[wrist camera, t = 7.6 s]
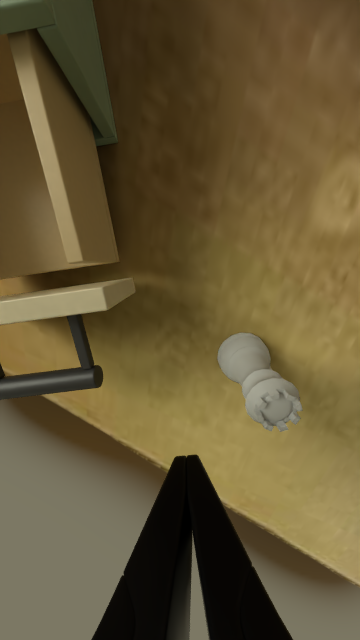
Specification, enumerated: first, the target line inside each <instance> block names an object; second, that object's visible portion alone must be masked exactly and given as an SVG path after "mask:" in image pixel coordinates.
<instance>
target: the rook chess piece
mask: <svg viewBox="0 0 360 640" xmlns="http://www.w3.org/2000/svg"><path fill="white" fill-rule="evenodd" d="M217 359H218V362H219V365H220V368H221V369H222V371H223V373H224V374H225V375H226V376H227V377H228V378H229V379H230V380H232V381H235V382H237V383H240V385H241V386H242V392H243V395H244V398H245V399H246V403H245V406H246V410H247V413H248V415H249V416H250V417H251V418H252V419H253V420H254V421H257V422H259V423H261V424H262V425H263V427H264V428H265V429H267V430H270V431H272V429H273V426H277V427H278V429H279V431H280V432H281V431H285V430H288V428H287V426H286V424H285V423H286V422H288V421H289V420H291V421H292V422H293V423H294V424H295V425H296V424H297V422H298V421H299V420H300V419H301V418H300V417H299V415H298V414H297V413H296V412H297V411H303V410H302V406H301V403H300V402H299V401H300V397H299V392H298V390H297V388H296V387H295V386H294V385H293V384H292V383H291V382H289V381H286V380H284V379H283V378H282V377H281V376H280V375H279V374H278V373H277V372H275V371H273V370H272V369H271V367H270V361H271V358H270V354H269V350H268V348H267V347H266V346H265V344H264V343H263V342H262V340H261V339H260V338H259V337H257V336H255V335H253V334H251V333H238V334H235V335H232V336H230V337H229V338H227V339H226V340H225V341H224V342H223V343H222V345H221V346H220V348H219V350H218V358H217Z"/></svg>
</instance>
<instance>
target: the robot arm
mask: <svg viewBox="0 0 360 640" xmlns="http://www.w3.org/2000/svg"><path fill="white" fill-rule="evenodd" d="M192 531H193V538H194V545H195V551H196V558H197V564H198V570H199V577H200V584H201V590H202V596H203V603H204V610H205V616H206V623H207V630H208V636H209V640H293V639H292V637H291V635H290V633H289V632H288V630H287V628H286V627H285V625H284V623H283V621H282V620H281V618H280V616H279V615H278V613H277V611H276V609H275V607H274V605H273V603H272V601H271V599H270V598H269V595H268V594H267V592H266V590H265V588H264V586H263V584H262V582H261V580H260V578H259V576H258V574H257V572H256V570H255V568H254V567H253V566H252V562H251V560H250V558H249V556H248V555H247V552H246V551H245V548H244V547H243V544H242V542H241V540H240V538H239V537H238V534H237V532H236V530H235V529H234V527H233V524H232V522H231V520H230V519H229V517H228V514H227V513H226V510H225V508H224V507H223V504H222V502H221V500H220V498H219V496H218V494H217V492H216V490H215V488H214V486H213V484H212V482H211V480H210V478H209V476H208V474H207V472H206V470H205V468H204V466H203V464H202V462H201V460H200V458H199V456H198V455H188V456H187V458H186V456H176V457H175V458H174V460H173V462H172V465H171V467H170V469H169V471H168V474H167V476H166V478H165V480H164V482H163V485H162V487H161V489H160V491H159V494H158V496H157V498H156V500H155V503H154V505H153V507H152V509H151V512H150V514H149V516H148V518H147V521H146V523H145V525H144V527H143V530H142V532H141V534H140V537H139V539H138V541H137V543H136V545H135V547H134V550H133V552H132V554H131V557H130V559H129V561H128V563H127V566H126V568H125V570H124V576H122V577H121V578H120V581H119V583H118V585H117V588H116V590H115V592H114V594H113V597H112V598H111V601H110V603H109V605H108V607H107V609H106V611H105V613H104V616H103V618H102V620H101V622H100V624H99V626H98V628H97V630H96V632H95V634H94V636H93V638H92V640H189V632H190V599H191V598H190V597H191V567H192V564H191V563H192Z"/></svg>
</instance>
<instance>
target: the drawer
mask: <svg viewBox="0 0 360 640" xmlns="http://www.w3.org/2000/svg"><path fill="white" fill-rule="evenodd" d="M119 261H120V260H119V256H118V251H117V246H116V241H115V236H114V231H113V226H112V222H111V217H110V212H109V207H108V202H107V197H106V193H105V188H104V183H103V178H102V173H101V168H100V163H99V159H98V154H97V149H96V144H95V139H94V134H93V129H92V125H91V120H90V115H89V113H88V111H87V110H86V108H85V107H84V105H83V103H82V102H81V100H80V98H79V97H78V95H77V94H76V92H75V90H74V89H73V87H72V85H71V84H70V82H69V81H68V79H67V77H66V76H65V74H64V73H63V71H62V69H61V68H60V66H59V64H58V63H57V61H56V60H55V58H54V56H53V55H52V53H51V51H50V50H49V48H48V47H47V45H46V43H45V42H44V40H43V38H42V37H41V35H40V34H39V32H38V30H37V28H34V29H29V30H24V31H19V32H14V33H8V34H3V35H0V279H6V278H13V277H20V276H27V275H34V274H41V273H47V272H54V271H61V270H68V269H75V268H82V267H89V266H95V265H102V264H109V263H116V262H119ZM135 292H136V291H135V286H134V280H133V278H126V279H119V280H112V281H105V282H98V283H91V284H84V285H77V286H70V287H63V288H56V289H49V290H42V291H35V292H28V293H21V294H14V295H7V296H0V325H4V324H12V323H19V322H26V321H34V320H41V319H48V318H56V317H63V316H67V319H68V322H69V326H70V329H71V333H72V336H73V340H74V343H75V347H76V350H77V353H78V357H79V360H80V364H81V367H79V368H71V369H63V370H55V371H47V372H39V373H31V374H23V375H15V376H7V377H4V376H5V374H4V371H3V369H2V366H1V364H0V400H1V399H9V398H18V397H26V396H34V395H42V394H51V393H59V392H67V391H75V390H83V389H92V388H99V387H100V386H101V385H102V382H103V371H102V368H101V367H100V366H99V365H95V366H94V361H93V357H92V353H91V350H90V346H89V342H88V338H87V335H86V331H85V327H84V324H83V320H82V316H81V314H85V313H92V312H99V311H107V310H109V309H110V308H112V307H113V306H115V305H116V304H118V303H120V302H121V301H123V300H124V299H126V298H127V297H129V296H130V295H132V294H133V293H135Z"/></svg>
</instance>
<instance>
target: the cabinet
mask: <svg viewBox="0 0 360 640" xmlns="http://www.w3.org/2000/svg"><path fill="white" fill-rule="evenodd" d="M34 28H37V30H38V32H39V34H40V35H41V37H42V38H43V40H44V42H45V43H46V45H47V47H48V48H49V50H50V51H51V53H52V55H53V56H54V58H55V60H56V61H57V63H58V64H59V66H60V68H61V69H62V71H63V73H64V74H65V76H66V77H67V79H68V81H69V82H70V84H71V85H72V87H73V89H74V90H75V92H76V94H77V95H78V97H79V98H80V100H81V102H82V103H83V105H84V107H85V108H86V110H87V111H88V113H89V115H90V120H91V125H92V129H93V134H94V139H95V144H96V146H101V145H107V144H113V143H118V139H117V133H116V128H115V122H114V117H113V111H112V106H111V100H110V95H109V89H108V84H107V78H106V73H105V67H104V62H103V56H102V51H101V45H100V40H99V34H98V29H97V23H96V18H95V12H94V7H93V1H92V0H0V35H3V34H8V33H14V32H19V31H24V30H29V29H34Z"/></svg>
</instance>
